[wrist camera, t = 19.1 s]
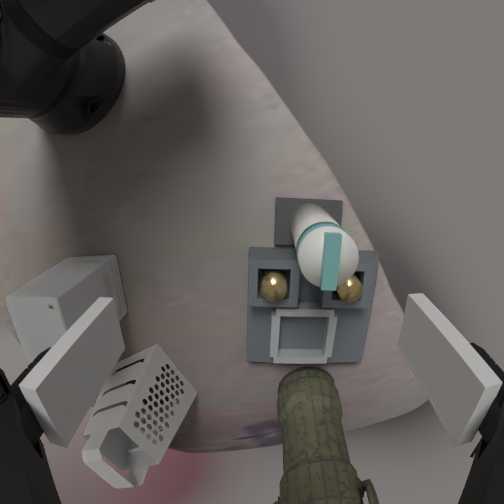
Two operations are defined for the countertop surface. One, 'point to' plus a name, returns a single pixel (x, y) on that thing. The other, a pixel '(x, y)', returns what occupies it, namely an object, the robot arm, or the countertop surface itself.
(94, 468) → the grater
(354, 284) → the plunger
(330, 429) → the thermos
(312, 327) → the housing
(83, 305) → the supplement box
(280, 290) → the plunger
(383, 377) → the countertop surface
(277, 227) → the mat
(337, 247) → the cartridge
